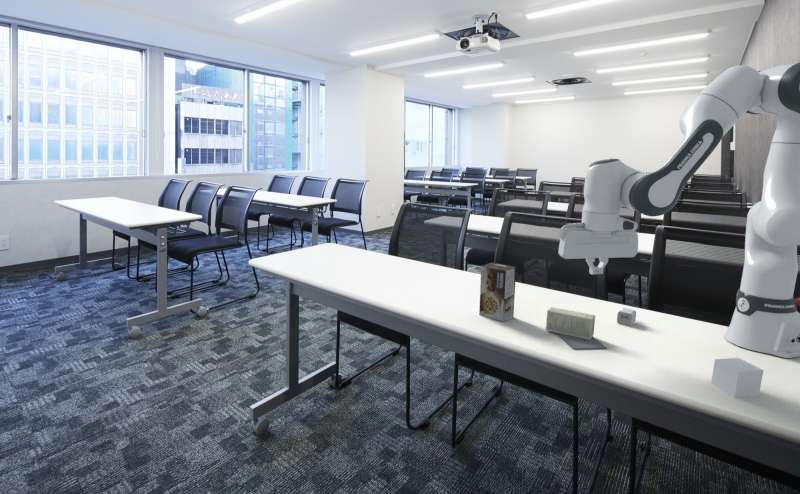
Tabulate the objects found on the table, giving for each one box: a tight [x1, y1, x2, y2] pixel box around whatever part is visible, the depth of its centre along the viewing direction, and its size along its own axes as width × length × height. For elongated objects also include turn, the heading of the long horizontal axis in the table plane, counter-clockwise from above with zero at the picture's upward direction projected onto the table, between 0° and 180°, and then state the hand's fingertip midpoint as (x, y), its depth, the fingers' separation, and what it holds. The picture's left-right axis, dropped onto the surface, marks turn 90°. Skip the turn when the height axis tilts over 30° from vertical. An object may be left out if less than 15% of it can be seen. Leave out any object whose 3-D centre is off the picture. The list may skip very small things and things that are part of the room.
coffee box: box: [478, 262, 517, 322], centre depth 141 cm, size 9×6×16 cm
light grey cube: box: [710, 357, 764, 399], centre depth 98 cm, size 6×6×6 cm
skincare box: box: [545, 306, 596, 340], centre depth 128 cm, size 6×4×12 cm
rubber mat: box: [555, 333, 608, 351], centre depth 125 cm, size 9×12×1 cm
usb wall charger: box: [616, 307, 637, 327], centre depth 138 cm, size 4×7×4 cm, turn 139°
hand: (595, 273), depth 121 cm, fingers closed
